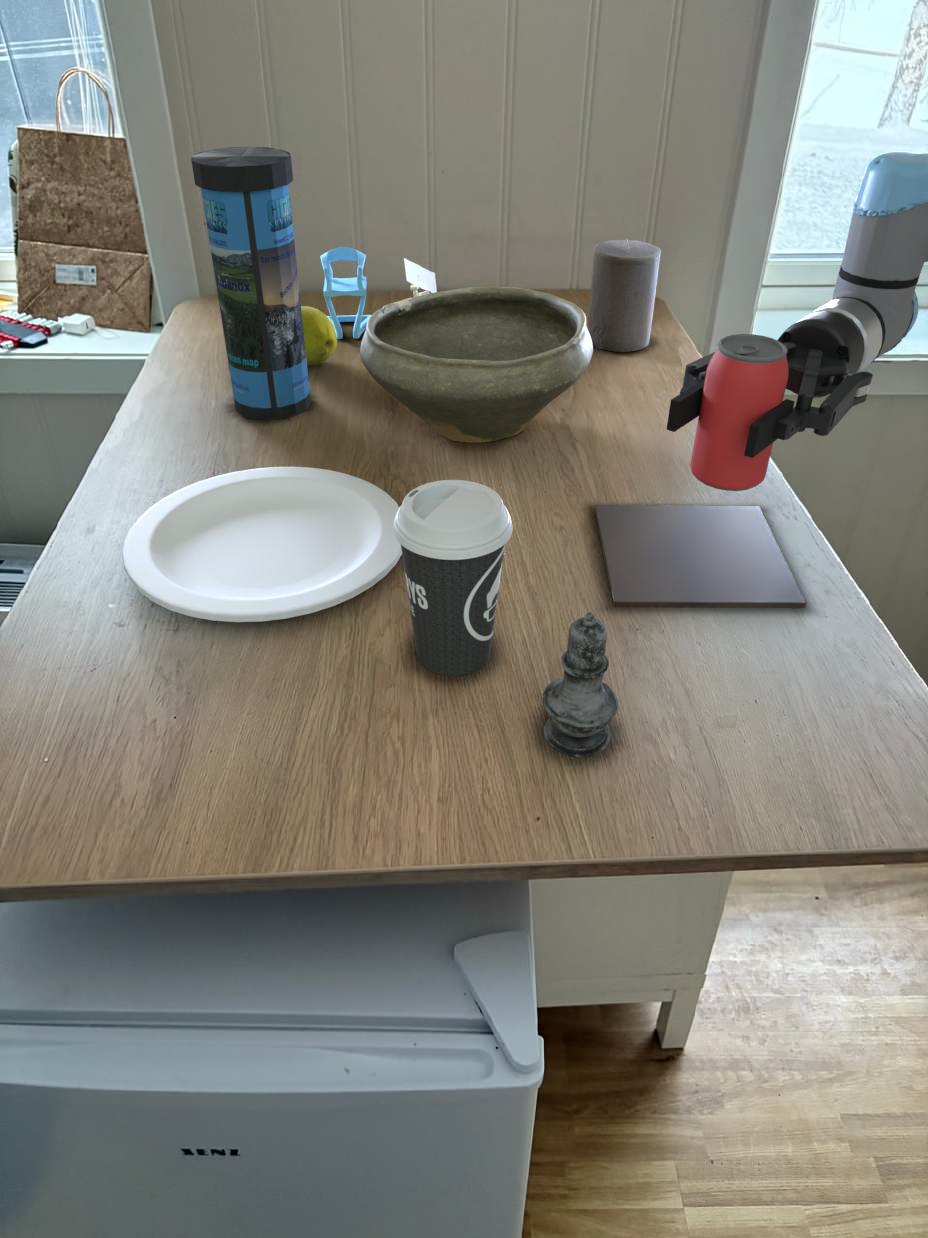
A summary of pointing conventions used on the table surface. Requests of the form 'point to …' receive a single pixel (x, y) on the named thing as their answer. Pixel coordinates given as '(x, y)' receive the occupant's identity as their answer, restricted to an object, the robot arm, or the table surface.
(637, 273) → the pillar candle
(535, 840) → the table surface
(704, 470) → the beer can
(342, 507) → the plate
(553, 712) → the salt shaker
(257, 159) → the advertising column
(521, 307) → the bowl
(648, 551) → the back mat
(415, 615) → the coffee cup
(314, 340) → the lemon
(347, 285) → the chair
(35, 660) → the table surface
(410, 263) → the white panel on stand
